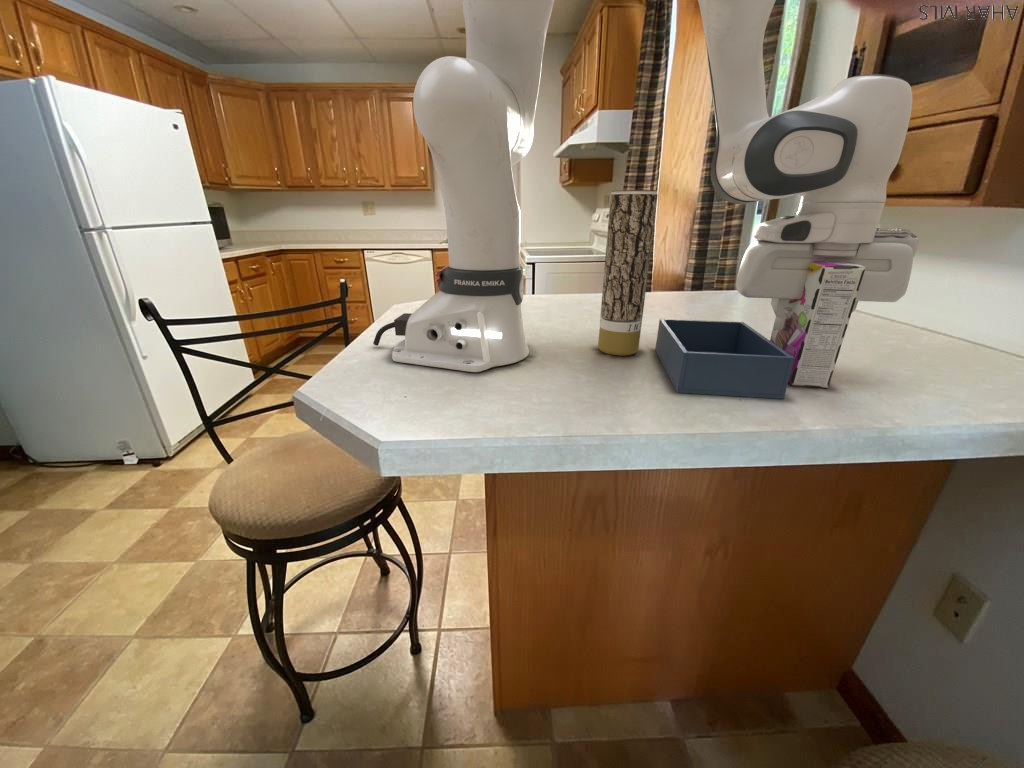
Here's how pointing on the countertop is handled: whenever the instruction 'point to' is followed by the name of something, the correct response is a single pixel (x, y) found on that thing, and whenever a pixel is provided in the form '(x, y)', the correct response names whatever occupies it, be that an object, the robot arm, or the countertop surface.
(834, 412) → the countertop surface
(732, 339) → the tote
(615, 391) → the countertop surface
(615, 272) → the paper tube
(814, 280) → the candy bar box
